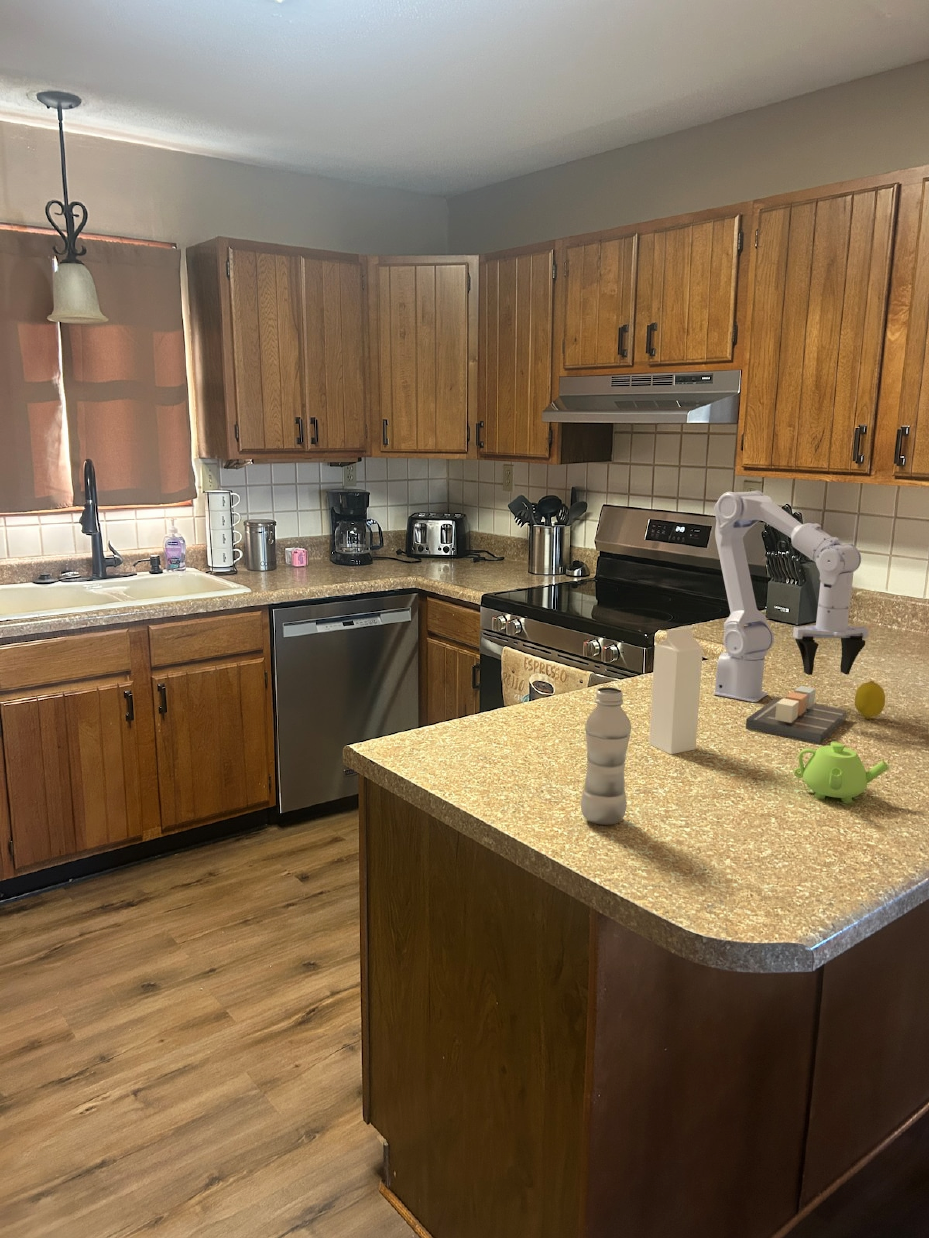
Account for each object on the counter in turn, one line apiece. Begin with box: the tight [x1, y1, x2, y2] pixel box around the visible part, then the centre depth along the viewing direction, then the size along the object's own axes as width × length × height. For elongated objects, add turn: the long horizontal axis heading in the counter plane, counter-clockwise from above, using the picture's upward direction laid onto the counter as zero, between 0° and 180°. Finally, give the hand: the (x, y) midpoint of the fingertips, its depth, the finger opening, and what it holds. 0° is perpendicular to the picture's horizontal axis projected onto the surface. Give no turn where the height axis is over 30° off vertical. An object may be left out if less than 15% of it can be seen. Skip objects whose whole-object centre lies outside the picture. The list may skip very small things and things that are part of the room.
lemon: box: [854, 680, 886, 720], centre depth 181 cm, size 6×6×8 cm
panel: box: [745, 697, 848, 745], centre depth 178 cm, size 14×18×2 cm
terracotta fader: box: [785, 691, 807, 716], centre depth 178 cm, size 3×4×3 cm
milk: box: [648, 627, 704, 755], centre depth 162 cm, size 6×6×22 cm
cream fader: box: [775, 697, 799, 723], centre depth 173 cm, size 3×4×3 cm
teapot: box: [793, 741, 890, 804], centre depth 144 cm, size 11×12×8 cm
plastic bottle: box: [580, 686, 632, 826], centre depth 131 cm, size 6×7×20 cm
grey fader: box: [793, 685, 816, 709], centre depth 182 cm, size 3×4×3 cm
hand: (826, 673), depth 179 cm, fingers open, 7 cm apart
